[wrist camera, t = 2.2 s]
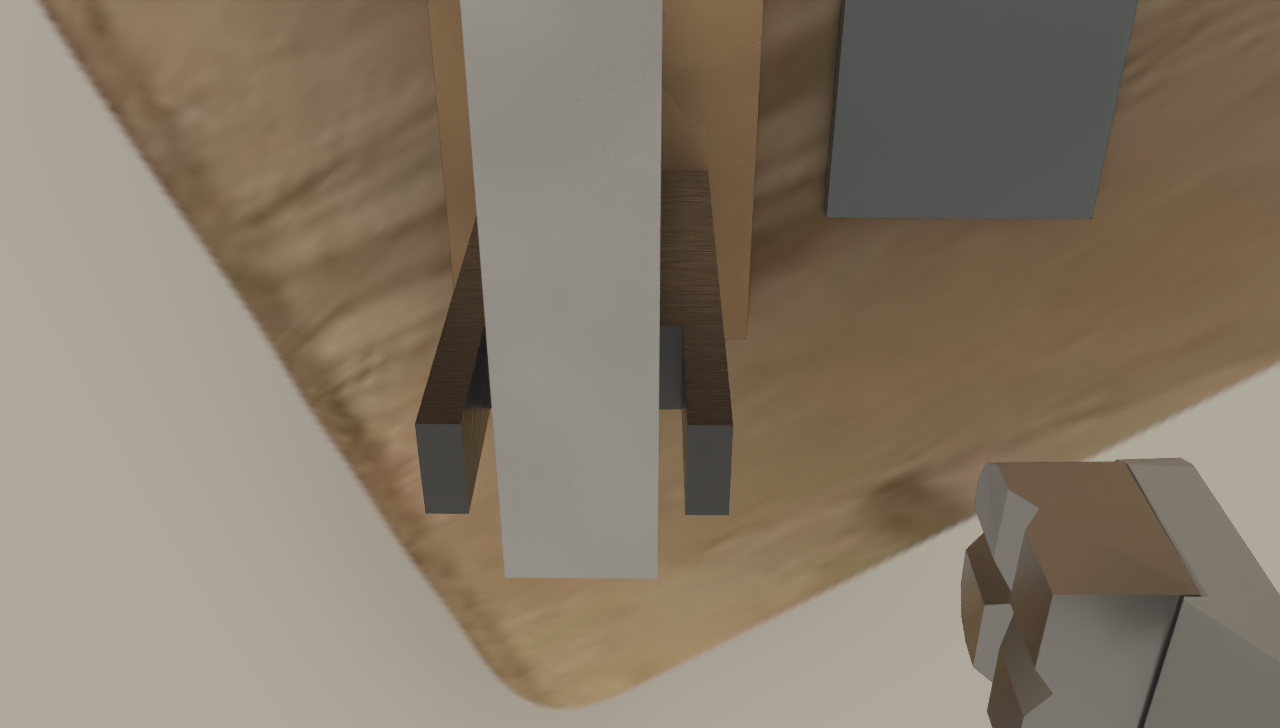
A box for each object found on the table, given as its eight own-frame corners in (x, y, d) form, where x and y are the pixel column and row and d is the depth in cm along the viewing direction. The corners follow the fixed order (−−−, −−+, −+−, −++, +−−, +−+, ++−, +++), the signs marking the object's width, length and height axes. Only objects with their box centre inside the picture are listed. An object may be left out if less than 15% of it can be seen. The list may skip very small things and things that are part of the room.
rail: (438, -728, 16) (399, -793, 14) (666, -730, 16) (668, -795, 13) (519, 484, 27) (505, 577, 24) (657, 485, 27) (657, 578, 24)
